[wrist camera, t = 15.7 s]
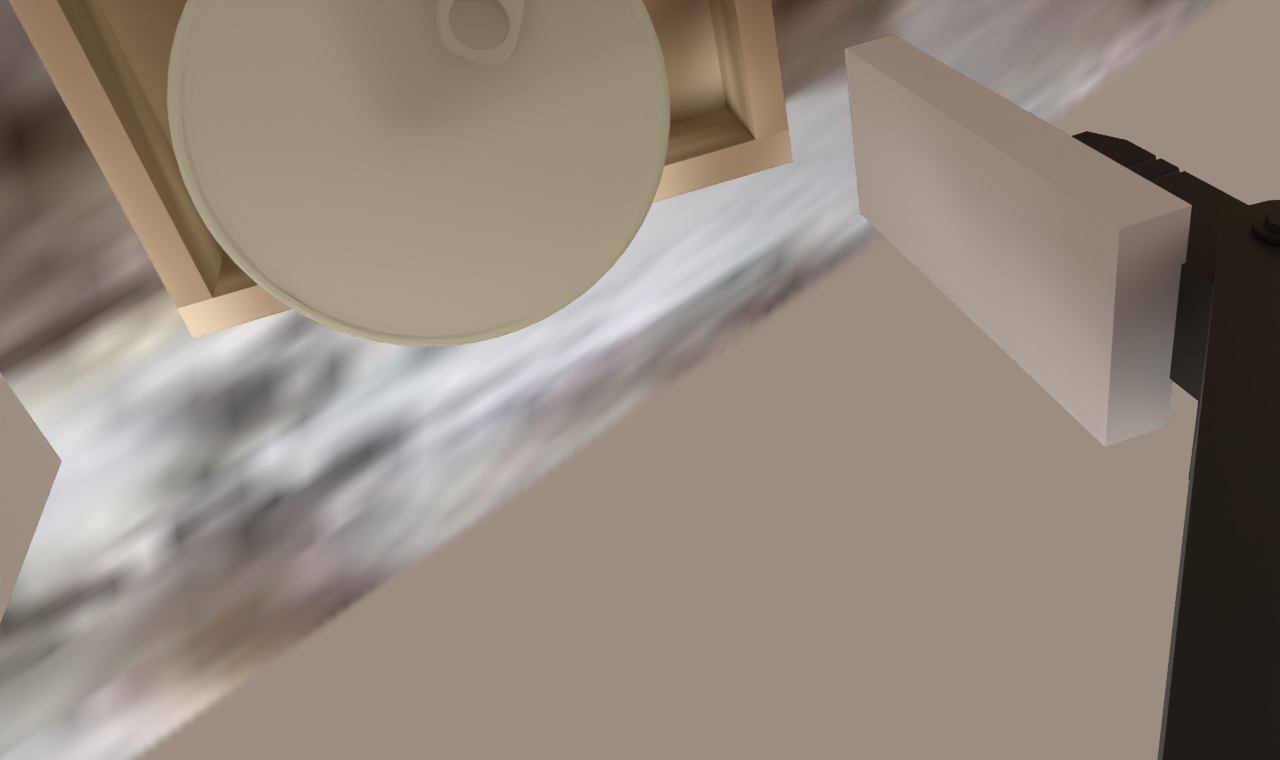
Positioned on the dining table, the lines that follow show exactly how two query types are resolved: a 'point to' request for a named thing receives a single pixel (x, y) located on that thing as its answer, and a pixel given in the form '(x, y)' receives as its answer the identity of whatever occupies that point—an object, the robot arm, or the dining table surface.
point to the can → (420, 153)
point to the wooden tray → (201, 269)
